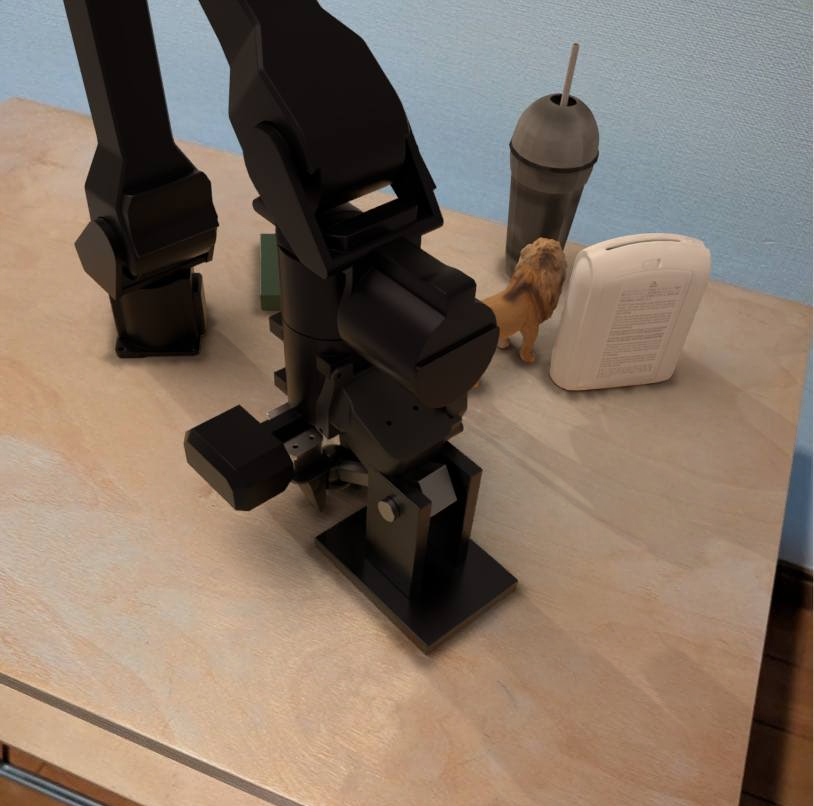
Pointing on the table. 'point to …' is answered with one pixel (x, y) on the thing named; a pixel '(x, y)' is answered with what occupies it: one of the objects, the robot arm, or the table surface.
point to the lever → (425, 478)
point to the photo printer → (629, 310)
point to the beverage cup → (549, 168)
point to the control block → (269, 273)
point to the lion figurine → (529, 295)
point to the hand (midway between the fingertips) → (336, 497)
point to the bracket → (419, 554)
